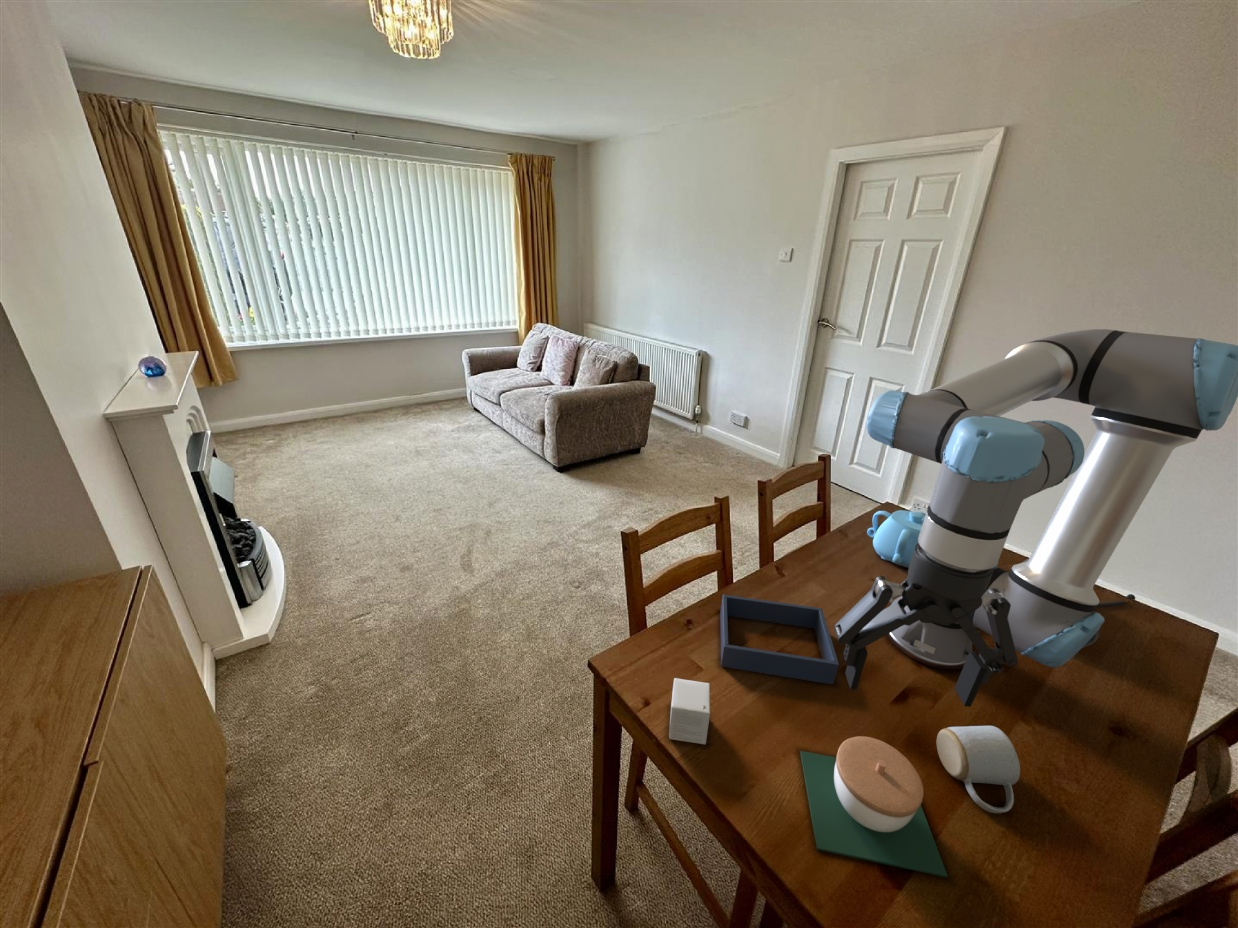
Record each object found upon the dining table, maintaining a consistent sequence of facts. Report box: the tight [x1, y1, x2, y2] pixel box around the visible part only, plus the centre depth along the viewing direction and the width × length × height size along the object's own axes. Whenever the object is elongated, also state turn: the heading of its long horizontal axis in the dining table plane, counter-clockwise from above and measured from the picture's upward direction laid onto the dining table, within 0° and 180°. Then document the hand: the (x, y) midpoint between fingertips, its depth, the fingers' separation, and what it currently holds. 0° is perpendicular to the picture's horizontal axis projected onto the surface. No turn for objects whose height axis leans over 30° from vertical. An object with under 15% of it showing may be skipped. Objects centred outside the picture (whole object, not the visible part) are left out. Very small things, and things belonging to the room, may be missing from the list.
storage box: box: [719, 594, 840, 685], centre depth 97 cm, size 21×16×5 cm
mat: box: [799, 750, 948, 878], centre depth 69 cm, size 16×14×1 cm
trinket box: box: [834, 735, 925, 832], centre depth 67 cm, size 11×11×9 cm
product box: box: [668, 677, 711, 745], centre depth 79 cm, size 6×6×7 cm
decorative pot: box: [866, 509, 926, 570], centre depth 126 cm, size 16×16×14 cm
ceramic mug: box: [935, 725, 1021, 814], centre depth 72 cm, size 11×8×8 cm
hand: (905, 689), depth 63 cm, fingers open, 13 cm apart
